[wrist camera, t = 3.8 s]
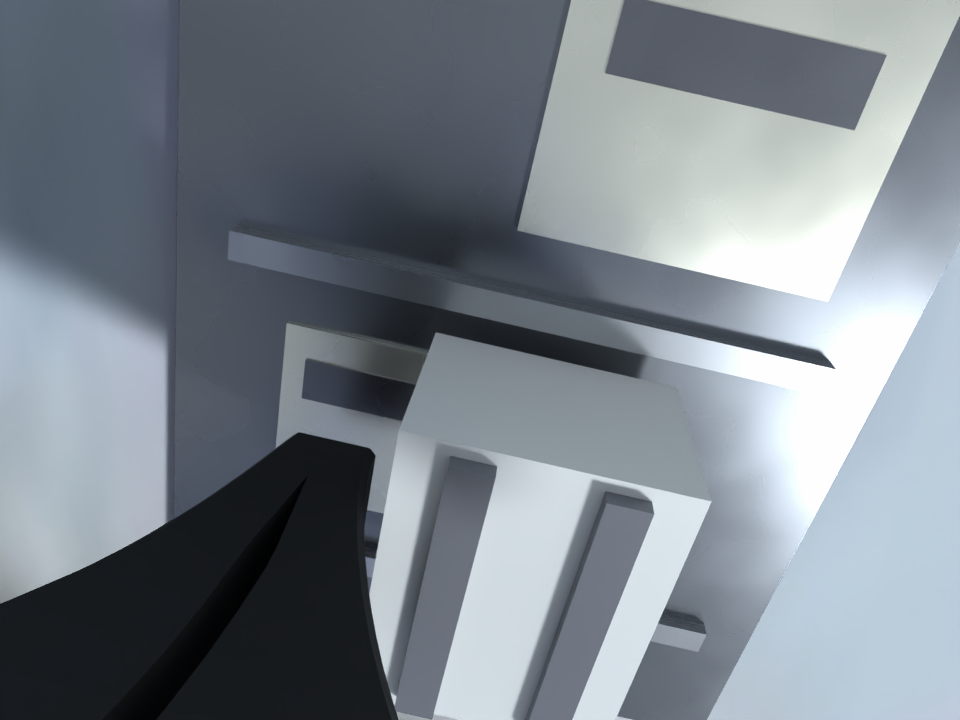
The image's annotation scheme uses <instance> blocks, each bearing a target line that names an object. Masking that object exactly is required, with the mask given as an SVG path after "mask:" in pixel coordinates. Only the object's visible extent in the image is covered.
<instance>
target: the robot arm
mask: <svg viewBox="0 0 960 720" xmlns="http://www.w3.org/2000/svg"><path fill="white" fill-rule="evenodd" d="M375 457H376V455H375V454H374V453H373V451H372V450H371V449H370V448H368V447H363V446H359V445H354V444H350V443H345V442H341V441H337V440H332V439H328V438H323V437H319V436H314V435H310V434H305V433H301V432H298V433H297V434H295V435H293V436H291V437H290V438H289V439H287V440H286V441H285V442H283V443H282V444H281V445H279V446H278V447H277V448H276V449H274V450H273V451H272V452H270V453H269V454H268V455H266V456H265V457H264V458H262V459H261V460H260V461H258V462H257V463H256V464H254V465H253V466H252V467H250V468H249V469H247V470H246V471H245V472H243V473H242V474H241V475H239V476H238V477H236V478H235V479H233V480H232V481H231V482H229V483H228V484H226V485H225V486H223V487H222V488H220V489H219V490H218V491H216V492H215V493H213V494H212V495H210V496H209V497H207V498H206V499H204V500H203V501H201V502H200V503H198V504H197V505H195V506H194V507H192V508H190V509H189V510H187V511H186V512H184V513H182V514H181V515H179V516H177V517H176V518H174V519H173V520H171V521H169V522H168V523H166V524H164V525H163V526H161V527H160V528H158V529H156V530H155V531H153V532H151V533H150V534H148V535H146V536H144V537H142V538H141V539H139V540H137V541H135V542H134V543H132V544H130V545H128V546H126V547H124V548H123V549H121V550H119V551H117V552H115V553H113V554H111V555H109V556H107V557H105V558H103V559H101V560H99V561H97V562H95V563H93V564H91V565H89V566H87V567H85V568H83V569H81V570H79V571H77V572H74V573H72V574H70V575H67V576H65V577H63V578H60V579H58V580H56V581H53V582H51V583H49V584H46V585H44V586H42V587H39V588H37V589H34V590H32V591H30V592H27V593H25V594H23V595H20V596H18V597H16V598H13V599H11V600H9V601H6V602H4V603H1V604H0V720H398V717H397V713H396V710H395V707H394V703H393V700H392V696H391V693H390V689H389V686H388V682H387V679H386V675H385V672H384V668H383V664H382V659H381V655H380V650H379V646H378V641H377V637H376V632H375V626H374V621H373V615H372V610H371V603H370V596H369V588H368V580H367V570H366V559H365V540H364V526H365V520H366V513H367V507H368V501H369V495H370V488H371V482H372V476H373V470H374V464H375Z"/></svg>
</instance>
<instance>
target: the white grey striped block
mask: <svg viewBox="0 0 960 720" xmlns="http://www.w3.org/2000/svg"><path fill="white" fill-rule="evenodd" d="M711 502H712V501H711V498H710V495H709V491H708V488H707V485H706V481H705V478H704V475H703V472H702V468H701V465H700V462H699V459H698V455H697V452H696V449H695V445H694V442H693V439H692V436H691V432H690V429H689V426H688V422H687V419H686V416H685V413H684V409H683V406H682V403H681V400H680V396H679V393H678V390H677V387H672V386H668V385H664V384H659V383H655V382H651V381H646V380H642V379H637V378H633V377H629V376H624V375H620V374H616V373H611V372H607V371H602V370H598V369H594V368H589V367H585V366H581V365H576V364H572V363H567V362H563V361H559V360H554V359H550V358H546V357H541V356H537V355H532V354H528V353H524V352H519V351H515V350H511V349H506V348H502V347H497V346H493V345H489V344H484V343H480V342H476V341H471V340H467V339H463V338H458V337H454V336H449V335H445V334H441V333H435V336H434V339H433V341H432V344H431V347H430V349H429V352H428V355H427V357H426V360H425V362H424V365H423V368H422V370H421V373H420V376H419V378H418V381H417V384H416V386H415V389H414V392H413V394H412V397H411V400H410V402H409V405H408V407H407V410H406V413H405V415H404V418H403V421H402V423H401V426H400V429H399V433H398V438H397V444H396V449H395V455H394V460H393V466H392V471H391V477H390V482H389V488H388V494H387V499H386V505H385V510H384V516H383V521H382V527H381V532H380V538H379V543H378V549H377V554H376V560H375V565H374V571H373V577H372V582H371V588H370V593H369V596H370V603H371V610H372V615H373V621H374V626H375V632H376V637H377V641H378V646H379V650H380V655H381V659H382V664H383V668H384V672H385V675H386V679H387V682H388V686H389V689H390V693H391V696H392V700H393V703H394V705H395V706H394V707H395V710H396V711H397V712H401V713H406V714H410V715H414V716H419V717H423V718H428V719H432V718H433V714H436V715H441V716H445V717H450V718H454V719H458V720H615V719H616V717H617V715H618V713H619V710H620V708H621V706H622V704H623V701H624V699H625V697H626V695H627V692H628V690H629V688H630V685H631V683H632V681H633V679H634V676H635V674H636V672H637V670H638V667H639V665H640V663H641V661H642V658H643V656H644V654H645V651H646V649H647V647H648V645H649V642H650V640H651V638H652V636H653V633H654V631H655V629H656V627H657V624H658V622H659V620H660V617H661V615H662V613H663V611H664V608H665V606H666V604H667V602H668V599H669V597H670V595H671V593H672V590H673V588H674V586H675V583H676V581H677V579H678V577H679V574H680V572H681V570H682V568H683V565H684V563H685V561H686V559H687V556H688V554H689V552H690V549H691V547H692V545H693V543H694V540H695V538H696V536H697V534H698V531H699V529H700V527H701V525H702V522H703V520H704V518H705V515H706V513H707V511H708V509H709V506H710V504H711Z"/></svg>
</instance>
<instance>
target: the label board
mask: <svg viewBox="0 0 960 720" xmlns="http://www.w3.org/2000/svg"><path fill="white" fill-rule="evenodd" d="M959 243H960V0H179V72H178V165H177V258H176V351H175V444H174V518H176V517H177V516H179V515H181V514H182V513H184V512H186V511H187V510H189V509H190V508H192V507H194V506H195V505H197V504H198V503H200V502H201V501H203V500H204V499H206V498H207V497H209V496H210V495H212V494H213V493H215V492H216V491H218V490H219V489H220V488H222V487H223V486H225V485H226V484H228V483H229V482H231V481H232V480H233V479H235V478H236V477H238V476H239V475H241V474H242V473H243V472H245V471H246V470H247V469H249V468H250V467H252V466H253V465H254V464H256V463H257V462H258V461H260V460H261V459H262V458H264V457H265V456H266V455H268V454H269V453H270V452H272V451H273V450H274V449H276V448H277V447H278V446H279V445H281V444H282V443H283V442H285V441H286V440H287V439H289V438H290V437H291V436H293V435H295V434H297V433H298V432H301V433H305V434H310V435H314V436H319V437H323V438H328V439H332V440H337V441H341V442H345V443H350V444H354V445H359V446H363V447H368V448H370V449H371V450H372V451H373V453H374V454H375V455H376V457H375V464H374V470H373V476H372V482H371V488H370V495H369V501H368V507H367V513H366V520H365V526H364V540H365V559H366V570H367V580H368V588H369V593H370V588H371V582H372V577H373V571H374V565H375V560H376V554H377V549H378V543H379V538H380V532H381V527H382V521H383V516H384V510H385V505H386V499H387V494H388V488H389V482H390V477H391V471H392V466H393V460H394V455H395V449H396V444H397V438H398V433H399V429H400V426H401V423H402V421H403V418H404V415H405V413H406V410H407V407H408V405H409V402H410V400H411V397H412V394H413V392H414V389H415V386H416V384H417V381H418V378H419V376H420V373H421V370H422V368H423V365H424V362H425V360H426V357H427V355H428V352H429V349H430V347H431V344H432V341H433V339H434V336H435V333H441V334H445V335H449V336H454V337H458V338H463V339H467V340H471V341H476V342H480V343H484V344H489V345H493V346H497V347H502V348H506V349H511V350H515V351H519V352H524V353H528V354H532V355H537V356H541V357H546V358H550V359H554V360H559V361H563V362H567V363H572V364H576V365H581V366H585V367H589V368H594V369H598V370H602V371H607V372H611V373H616V374H620V375H624V376H629V377H633V378H637V379H642V380H646V381H651V382H655V383H659V384H664V385H668V386H672V387H677V390H678V393H679V396H680V400H681V403H682V406H683V409H684V413H685V416H686V419H687V422H688V426H689V429H690V432H691V436H692V439H693V442H694V445H695V449H696V452H697V455H698V459H699V462H700V465H701V468H702V472H703V475H704V478H705V481H706V485H707V488H708V491H709V495H710V498H711V501H712V502H711V504H710V506H709V509H708V511H707V513H706V515H705V518H704V520H703V522H702V525H701V527H700V529H699V531H698V534H697V536H696V538H695V540H694V543H693V545H692V547H691V549H690V552H689V554H688V556H687V559H686V561H685V563H684V565H683V568H682V570H681V572H680V574H679V577H678V579H677V581H676V583H675V586H674V588H673V590H672V593H671V595H670V597H669V599H668V602H667V604H666V606H665V608H664V611H663V613H662V615H661V617H660V620H659V622H658V624H657V627H656V629H655V631H654V633H653V636H652V638H651V640H650V642H649V645H648V647H647V649H646V651H645V654H644V656H643V658H642V661H641V663H640V665H639V667H638V670H637V672H636V674H635V676H634V679H633V681H632V683H631V685H630V688H629V690H628V692H627V695H626V697H625V699H624V701H623V704H622V706H621V708H620V710H619V713H618V715H617V716H620V717H624V718H628V719H633V720H707V718H708V716H709V714H710V713H711V711H712V709H713V707H714V705H715V703H716V701H717V699H718V697H719V696H720V694H721V692H722V690H723V688H724V686H725V684H726V682H727V681H728V679H729V677H730V675H731V673H732V671H733V669H734V667H735V665H736V664H737V662H738V660H739V658H740V656H741V654H742V652H743V650H744V648H745V647H746V645H747V643H748V641H749V639H750V637H751V635H752V633H753V631H754V630H755V628H756V626H757V624H758V622H759V620H760V618H761V616H762V614H763V613H764V611H765V609H766V607H767V605H768V603H769V601H770V599H771V597H772V596H773V594H774V592H775V590H776V588H777V586H778V584H779V582H780V580H781V579H782V577H783V575H784V573H785V571H786V569H787V567H788V565H789V563H790V562H791V560H792V558H793V556H794V554H795V552H796V550H797V548H798V547H799V545H800V543H801V541H802V539H803V537H804V535H805V533H806V531H807V530H808V528H809V526H810V524H811V522H812V520H813V518H814V516H815V514H816V513H817V511H818V509H819V507H820V505H821V503H822V501H823V499H824V497H825V496H826V494H827V492H828V490H829V488H830V486H831V484H832V482H833V480H834V479H835V477H836V475H837V473H838V471H839V469H840V467H841V465H842V463H843V462H844V460H845V458H846V456H847V454H848V452H849V450H850V448H851V446H852V445H853V443H854V441H855V439H856V437H857V435H858V433H859V431H860V429H861V428H862V426H863V424H864V422H865V420H866V418H867V416H868V414H869V412H870V411H871V409H872V407H873V405H874V403H875V401H876V399H877V397H878V396H879V394H880V392H881V390H882V388H883V386H884V384H885V382H886V380H887V379H888V377H889V375H890V373H891V371H892V369H893V367H894V365H895V363H896V362H897V360H898V358H899V356H900V354H901V352H902V350H903V348H904V346H905V345H906V343H907V341H908V339H909V337H910V335H911V333H912V331H913V329H914V328H915V326H916V324H917V322H918V320H919V318H920V316H921V314H922V312H923V311H924V309H925V307H926V305H927V303H928V301H929V299H930V297H931V295H932V294H933V292H934V290H935V288H936V286H937V284H938V282H939V280H940V278H941V277H942V275H943V273H944V271H945V269H946V267H947V265H948V263H949V262H950V260H951V258H952V256H953V254H954V252H955V250H956V248H957V246H958V245H959Z"/></svg>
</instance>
